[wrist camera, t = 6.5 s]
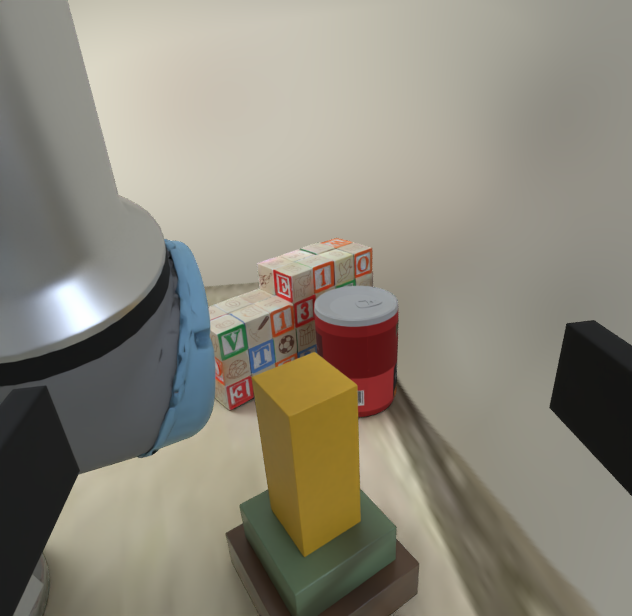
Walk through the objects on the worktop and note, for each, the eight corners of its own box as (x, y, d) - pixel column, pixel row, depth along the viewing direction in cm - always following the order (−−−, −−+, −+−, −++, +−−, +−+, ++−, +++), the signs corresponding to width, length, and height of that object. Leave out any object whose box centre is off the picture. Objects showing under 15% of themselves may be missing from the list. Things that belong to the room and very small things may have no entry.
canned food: (411, 403, 46) (415, 306, 41) (342, 430, 43) (337, 329, 38) (370, 366, 52) (370, 278, 47) (308, 388, 49) (300, 296, 44)
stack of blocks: (229, 413, 46) (210, 305, 41) (200, 387, 50) (179, 286, 45) (373, 337, 58) (373, 245, 53) (340, 321, 62) (336, 235, 57)
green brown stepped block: (297, 688, 25) (287, 625, 22) (231, 561, 32) (218, 501, 29) (417, 593, 29) (421, 530, 26) (336, 499, 36) (333, 441, 33)
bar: (304, 557, 25) (288, 416, 21) (270, 508, 28) (250, 376, 24) (361, 521, 27) (357, 384, 23) (323, 479, 30) (314, 351, 26)
